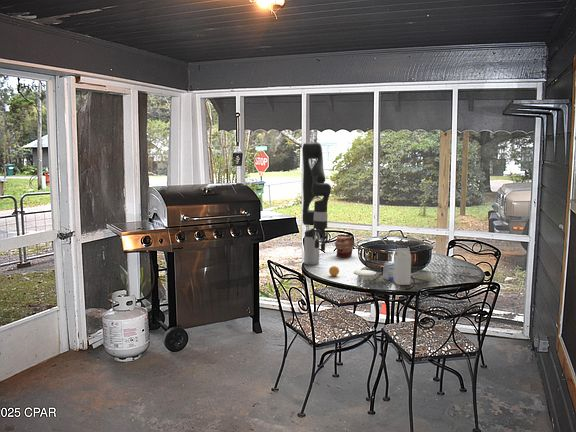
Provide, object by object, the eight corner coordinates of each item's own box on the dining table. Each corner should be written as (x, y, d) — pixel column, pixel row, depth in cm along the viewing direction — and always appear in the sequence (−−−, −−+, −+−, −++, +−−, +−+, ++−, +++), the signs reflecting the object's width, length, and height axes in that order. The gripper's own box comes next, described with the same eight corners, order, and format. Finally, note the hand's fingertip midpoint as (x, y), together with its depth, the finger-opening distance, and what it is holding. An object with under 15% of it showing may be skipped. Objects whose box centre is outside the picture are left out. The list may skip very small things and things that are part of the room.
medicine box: (387, 280, 273) (388, 264, 272) (382, 278, 277) (383, 263, 276) (399, 278, 277) (399, 263, 276) (393, 277, 281) (394, 261, 280)
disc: (349, 271, 292) (349, 270, 292) (368, 269, 297) (368, 269, 297) (360, 276, 280) (360, 276, 280) (380, 274, 285) (380, 274, 285)
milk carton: (393, 281, 271) (394, 247, 268) (405, 281, 272) (407, 247, 269) (397, 285, 264) (398, 249, 261) (410, 284, 265) (411, 249, 262)
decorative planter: (339, 252, 346) (340, 232, 344) (356, 253, 342) (357, 233, 340) (331, 257, 328) (332, 237, 326) (349, 259, 323) (350, 238, 321)
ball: (327, 275, 283) (327, 265, 282) (336, 274, 285) (336, 264, 284) (331, 277, 278) (332, 267, 277) (340, 276, 280) (341, 266, 279)
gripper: (308, 218, 278) (308, 247, 281) (320, 221, 265) (319, 252, 268) (320, 217, 281) (320, 246, 284) (332, 221, 268) (331, 251, 270)
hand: (319, 249), depth 276 cm, fingers open, 7 cm apart
